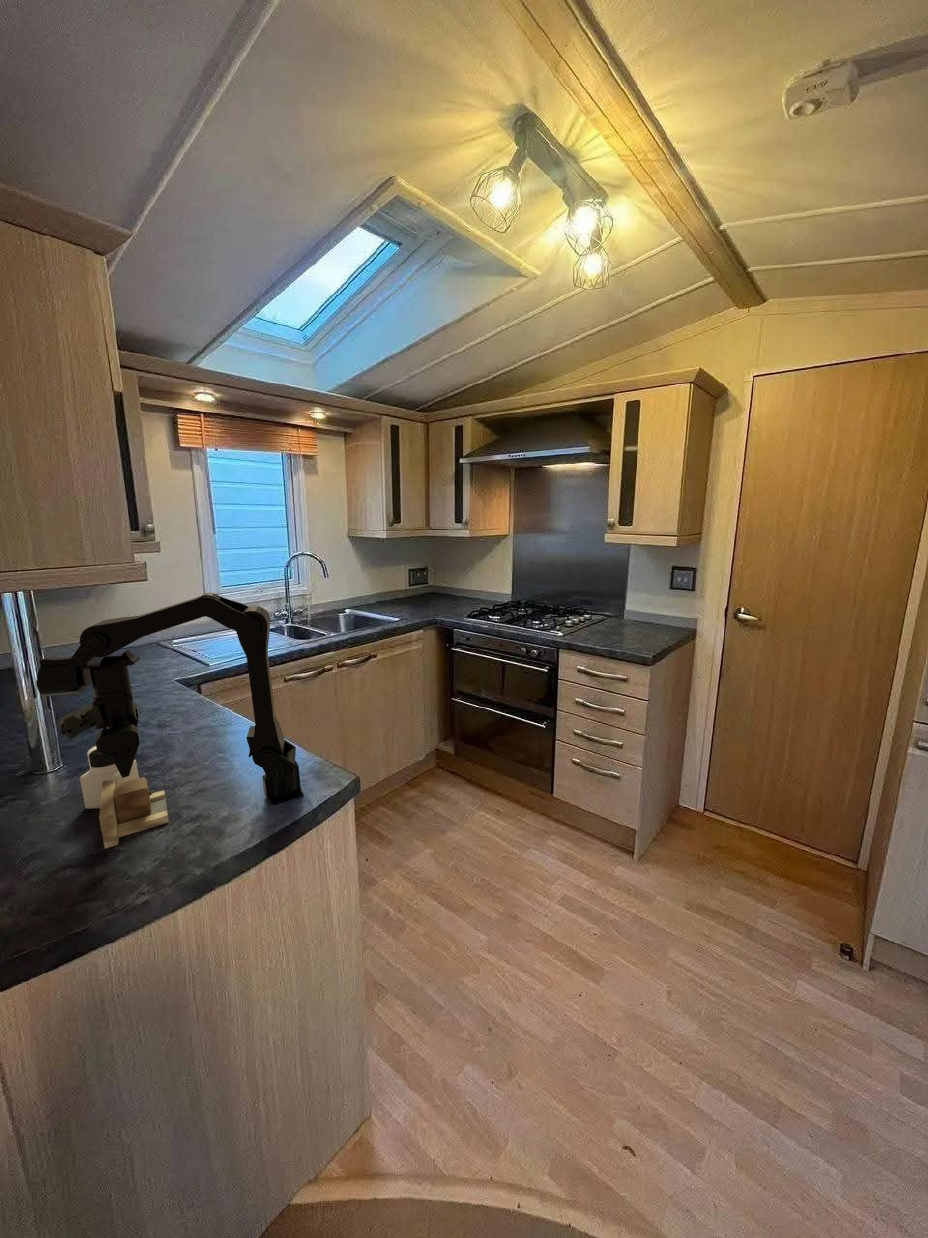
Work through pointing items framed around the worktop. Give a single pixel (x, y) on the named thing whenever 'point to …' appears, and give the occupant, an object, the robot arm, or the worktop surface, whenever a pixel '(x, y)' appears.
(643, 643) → the worktop surface
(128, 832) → the cleat board
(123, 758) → the robot arm
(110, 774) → the medicine bottle
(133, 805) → the cabinet block
